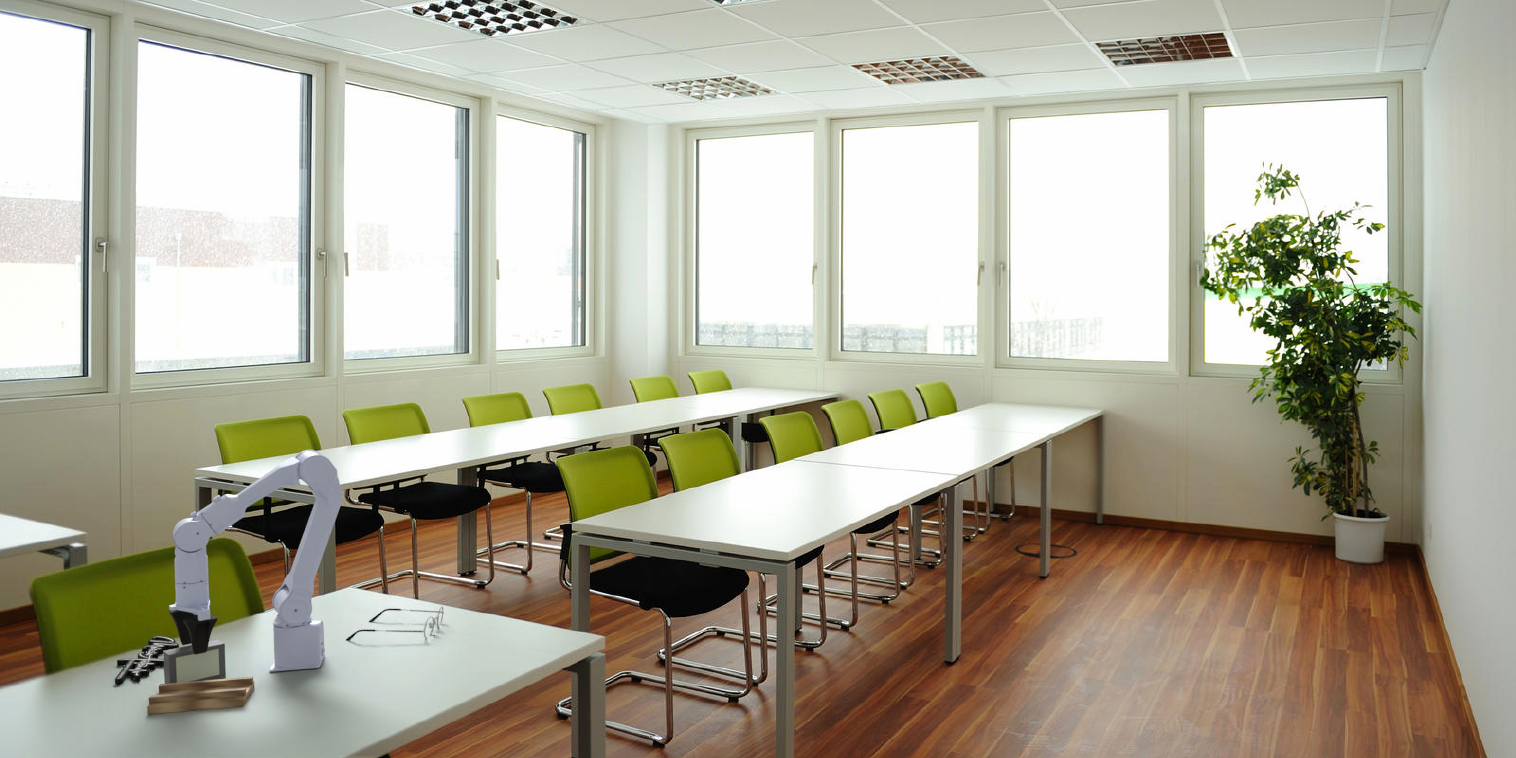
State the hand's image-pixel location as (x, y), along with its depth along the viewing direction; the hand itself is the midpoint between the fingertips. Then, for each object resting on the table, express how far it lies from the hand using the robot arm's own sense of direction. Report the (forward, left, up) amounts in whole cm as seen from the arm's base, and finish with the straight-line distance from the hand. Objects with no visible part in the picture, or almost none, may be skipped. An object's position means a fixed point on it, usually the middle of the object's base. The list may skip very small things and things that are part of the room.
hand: (193, 648), depth 203 cm
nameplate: (+13, -16, -7) cm, 21 cm away
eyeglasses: (-36, -24, -7) cm, 44 cm away
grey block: (0, 0, -7) cm, 7 cm away
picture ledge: (-4, +11, -7) cm, 14 cm away
